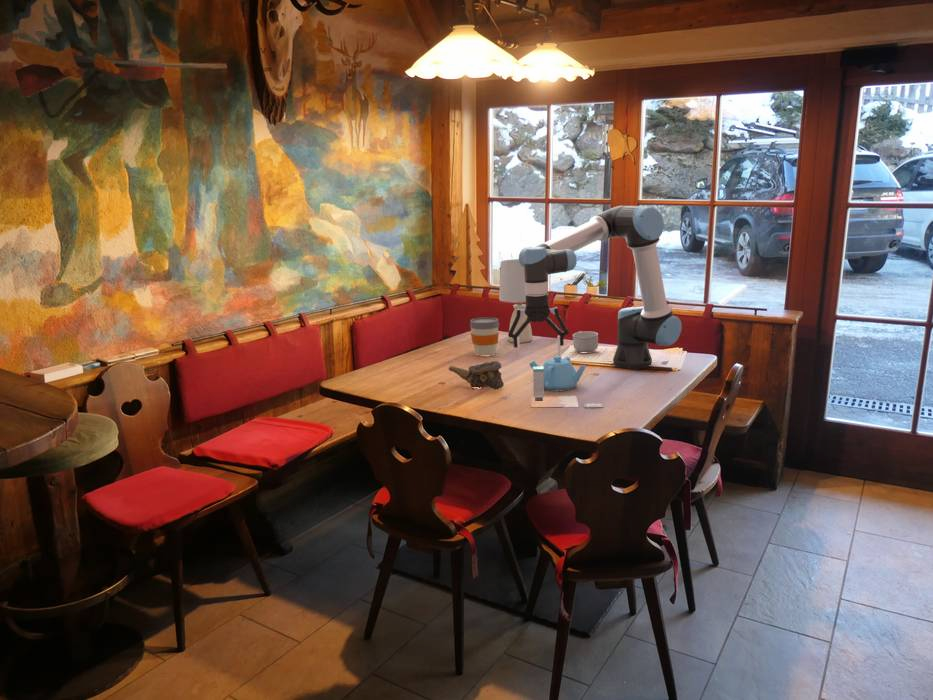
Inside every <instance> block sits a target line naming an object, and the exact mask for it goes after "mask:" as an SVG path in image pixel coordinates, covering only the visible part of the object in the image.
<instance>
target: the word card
mask: <svg viewBox="0 0 933 700" xmlns="http://www.w3.org/2000/svg"><path fill="white" fill-rule="evenodd" d="M583 406H584V409H604V405H603V403H599V402H598V403H595V402H593V403H583Z"/></svg>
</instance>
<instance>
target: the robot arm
mask: <svg viewBox="0 0 933 700" xmlns="http://www.w3.org/2000/svg"><path fill="white" fill-rule="evenodd" d="M664 222H665V221H664V218H663V215H662V213H661V212H660V211H659V210H658V209H656V207H653V206H647V205H618V206H615V207H612V208H610V209H607V210H605V211H602V212H600V213H597V214H596V215H594V216H592V217H590V219H589V221H588V222H585V223H584V224H583V223H582V224H581V225H579V226H577V227H575V228H573V229H571V230H568V231H566V232H565V233H562V234H560V235H557V236H556V237H554V238H552V239H550V240H547V241H545V242H543V243H541V244H539V245H536V246H534V247H533V246H527V247H524V248H522V249H521V250H520V251H519V254H518V259H519V262H520V264H521V266H522V267H524V272H525V293H526V294H527V295H526V302H525V305H526V307H525V310H520V309H517V315H516V318H515V320H514V322H513V324H512V326H511V329H510V331H509V330H508V334H507V337H508V338H509V337H512V338H513V339H514V343H513V347H514V348H515V349H516V348H517V358H518V359H520V358H521V346H520V345H521V343H520V340H519V337H518V336H519V335H520V333H521V332H522V331H523V330H524V328H525V327H526V326H527V325H528V324H529V322H530V323H531V322H533V323H537V322H539V323H543V322H544V321H545V322H546V323H547V324H548V325H549V326H550V327H551V328H552V329H553V331H555V332H556V334H558V335H557V356H561V347H563V346H564V345H565V344H564V337H565V336H567V335H569V329H568V328H567V326H566V324H565V321H564V320H563V319H562V317H561V315H560V313H559V309H558V307H557V306H554V307H552V308H550V307H549V294H548V293H549V286H548V285H549V282H548V275H553V274H558V273H560V274H561V273H566V272H569V271H573V270H574V269H575V268H576V266H577V256H576V255H577V254H576V253H575V252H577V251H578V250H580V249H584V247H586V246H588V245H591V244H592V243H595V242H597V241H599V242H602V241H603V242H604V241H606V240H607V239H613V238H614V239H615V238H620V239H621V238H623V239H625V241H626V246H627V248H629V249H630V250H632V255H633V259H634V264H635V270H636V271H635V272H636V276H637V280H638V285H639V286H638V287H639V291H640V297H641V302H642V306H631V307H630V306H629V307H625V308H621V309H620V310H618V313H617V347H616V350H615V352H614V356H613V359H612V365H613V366H615V367H616V368H621V369H628V370H638V369H639V370H640V369H646V368H649V367H648V366H649V365H651V364H653V360H652V359H653V358H652V355H651V352H650V349H649V345H648V344H653V345H658V346H663V347H669V346H671V345H673V344H675V343H676V341H678V339H679V337H680V335H681V332H682V327H683V326H682V321H681V319H680V318H679V317H678V316H676V315H674V314H673V308H672V307H671V306H670V305H669V304H668V303H667V302H668V301H667V298H666V292H665V287H664V286H665V285H664V282H663V281H664V280H663V275H662V270H661V265H660V259H659V252H658V249H657V248H658V247H657V244H658V243H659V242H660V240H661V238H660V237H661V235H662V234H663V230H664V227H665V223H664ZM524 313H525V314H526V315H527V318H526V320H525V321H524V322H523V324H522V325H521V326H520V328H519V329H518V330H517V331H516V333H515V334H514V333H513V332H514V330H515V327H516V325H517V323H518V321H519V319H520V316H522V315H523V314H524ZM551 313H552V315H555V318H556V320H557V322H558V323H559V325H560V327H561V328H562V330H563V331H562V330H561V329H560V327H558V326H557V324H555V323H554V321H553V320H552V319H551V318H550V317H549V315H550V314H551ZM561 357H562V356H561ZM651 366H652V365H651Z"/></svg>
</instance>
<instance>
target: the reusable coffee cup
mask: <svg viewBox="0 0 933 700" xmlns="http://www.w3.org/2000/svg"><path fill="white" fill-rule="evenodd" d="M469 323H470V324H469V328H470V330H471V333H470V335H471V342H472V345H473V349H474V354H478V355H492V356H494V355H493V354H495V353H496V354H497V346H498V345H497V344H498V343H499V327H500V321H499V318H497V317H477V318H472V319H470V321H469ZM496 354H495V355H496Z"/></svg>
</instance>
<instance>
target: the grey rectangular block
mask: <svg viewBox="0 0 933 700" xmlns="http://www.w3.org/2000/svg"><path fill="white" fill-rule="evenodd" d="M532 372H533V373H532V376H533V377H532V378H533V382H532V383H533V397H534V398H535V401H543V397H545V392H544V391H545V389H544V368H543V365H542V366H541V365H540V366H539V367H533V369H532Z"/></svg>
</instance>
